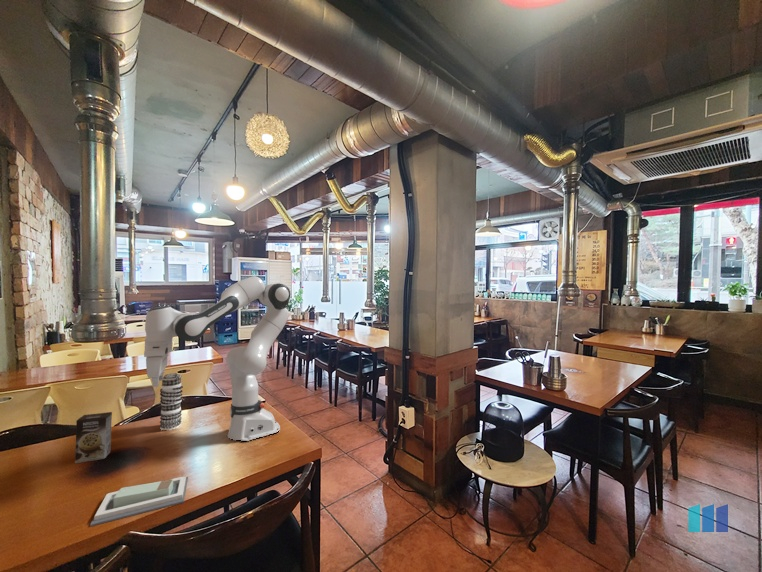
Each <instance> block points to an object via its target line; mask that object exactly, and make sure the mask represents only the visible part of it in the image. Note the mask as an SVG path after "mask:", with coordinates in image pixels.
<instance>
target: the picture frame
mask: <svg viewBox="0 0 762 572" xmlns="http://www.w3.org/2000/svg"><path fill="white" fill-rule="evenodd" d="M171 479H173V490H172V492H171V494H170V495H168V496H164V497H160V498H156V499H152V500H147V501H143V502H139V503H135V504H131V505H127V506H123V507H118V508H114V497H115V496H116V494H117V493H118V492H119V490H117V491H113V492H109V493H106V495H105V496H104V499H103V500H102V502H101V504H100V505H99V506H98V507H99V508H98V509H97V511H96V513H95V515H94V517H93V518H92V520H91V522H90V525H89V527H94V526H97V525H101V524H106V523H109V522H114V521H117V520H121V519H122V520H123V519H124V518H128V517H132V516H137V515H140V514H145V513H148V512H152V511H156V510H159V509H160V510H161V509H164V508H167V507H171V506H175V505H180V504H183V503H185V497H186V490H187V484H188V479H189V476H187V475H185V476H180V477H179V476H178V477H175V478H171ZM171 479H169V480H171Z"/></svg>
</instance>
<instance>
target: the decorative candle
mask: <svg viewBox="0 0 762 572" xmlns="http://www.w3.org/2000/svg"><path fill="white" fill-rule="evenodd" d="M161 382H162V383H161V388H160V389H159V392H160V393H159V395H160V402H159V403H160V405H161V409H160V414H159V415H160V418H159V419H160V421H159V423H160V424H159V427H160V428H159V429H161V430H160V431H162V430H169V431H173V430H172V429H174V430H176V429H178V427H179V426H180V425H181V426H182V412H183V411H182V407H181V404H182V403H181V402H182V400H183V399H182V398H183V397H181V396H183V390H182V389H183V388H184V387H183V385H182V375H180V373H178V372H177V373H176V372H175V373H173V372H172V373H168V374H165V375H163V380H162V381H161ZM181 426H180V427H181ZM180 427H179V428H180ZM175 428H176V429H175Z"/></svg>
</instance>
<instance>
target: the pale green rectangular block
mask: <svg viewBox="0 0 762 572" xmlns="http://www.w3.org/2000/svg"><path fill="white" fill-rule="evenodd" d="M173 479H174V478H171V480H170V479H167V480H165V479H164V480H160V481H155V482H154V481H153V482H150V483H143V484H137V485H136V484H135V485H131V486H125V487H120V489H119V490H118V491H119V492H118V493H117V494H116V496H115V497H114V508H118V507H123V506H127V505H131V504H135V503H139V502H143V501H147V500H152V499H156V498H160V497H164V496H168V495H170V494H171V492H172V490H173Z"/></svg>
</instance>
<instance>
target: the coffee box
mask: <svg viewBox="0 0 762 572" xmlns="http://www.w3.org/2000/svg"><path fill="white" fill-rule="evenodd" d="M112 416H113V411H110V412H98V413H92V414H83V415H82V416H80V417H78V419H76V422H75V423H76V424H75V425H76V426H75V454H74V464H79V463H85V462H92V461H98V460H104V459H105V458H107V456H108V455H109V454H110V453H111V447H112V446H111V445H112V418H113V417H112Z"/></svg>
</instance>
